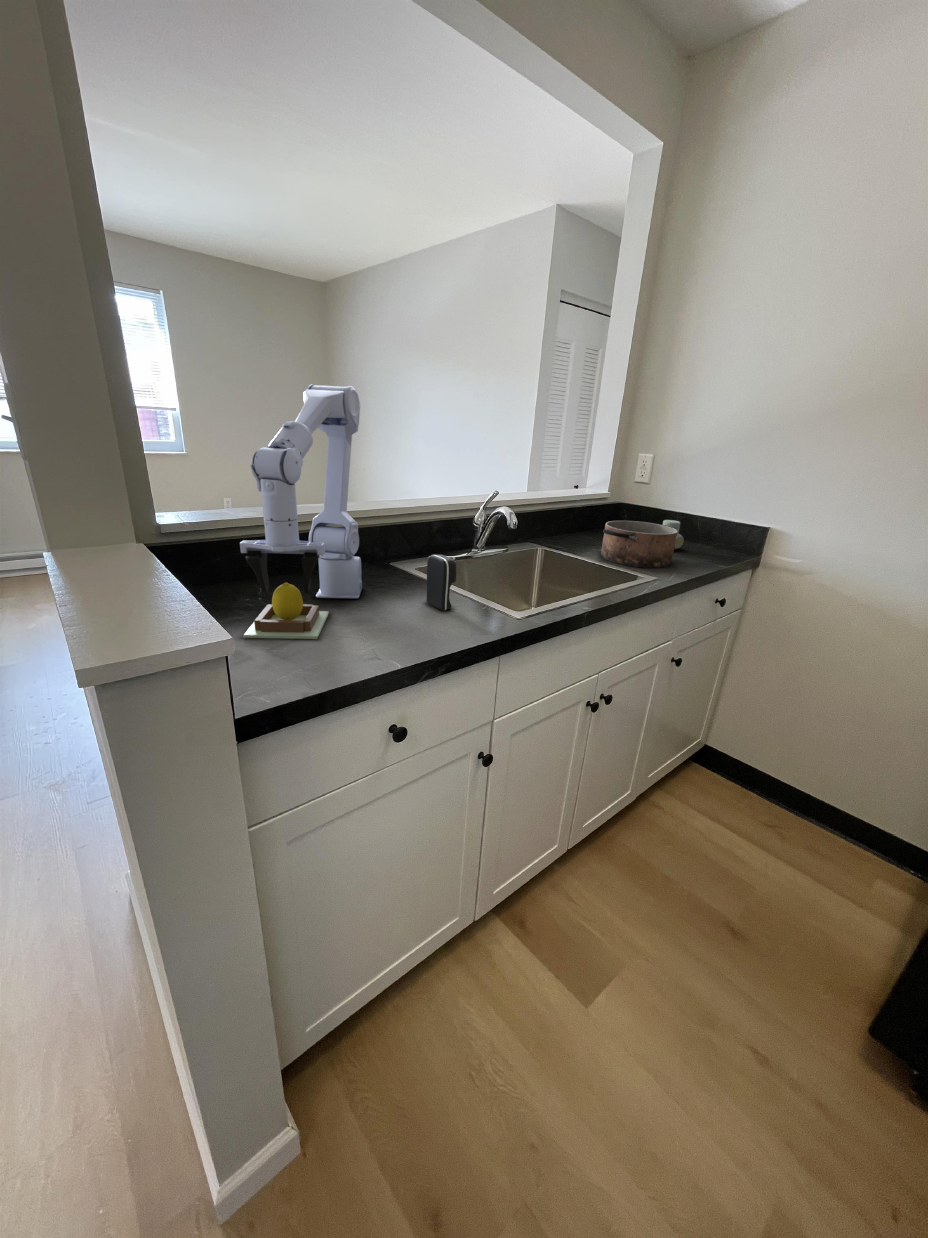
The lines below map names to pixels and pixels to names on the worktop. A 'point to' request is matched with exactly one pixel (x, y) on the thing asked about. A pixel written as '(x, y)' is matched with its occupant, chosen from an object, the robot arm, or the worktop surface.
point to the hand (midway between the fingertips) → (286, 590)
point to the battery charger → (440, 580)
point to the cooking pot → (638, 543)
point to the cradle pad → (288, 624)
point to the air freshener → (679, 538)
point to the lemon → (287, 602)
